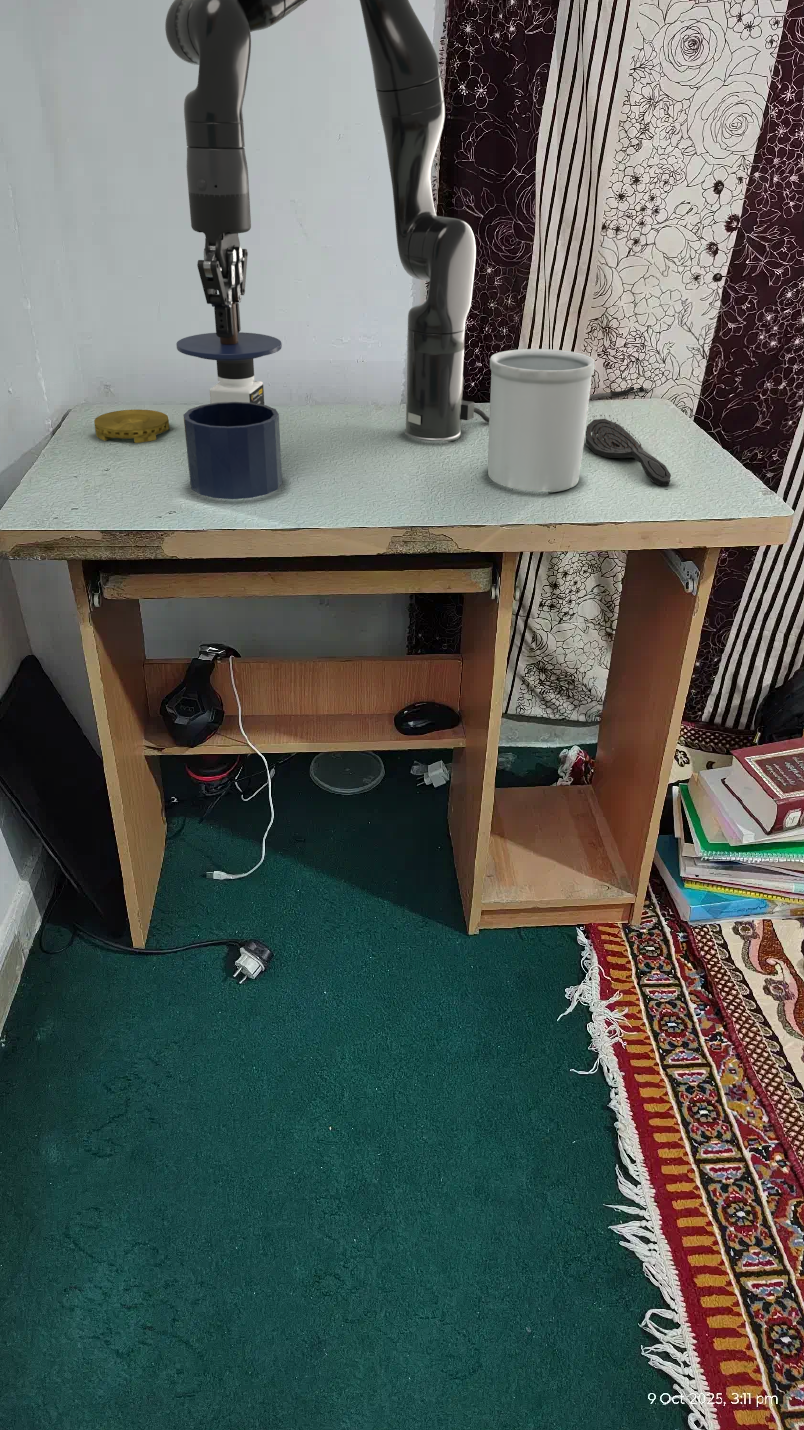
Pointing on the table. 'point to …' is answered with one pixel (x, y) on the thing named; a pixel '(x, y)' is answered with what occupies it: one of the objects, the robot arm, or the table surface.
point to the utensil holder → (538, 418)
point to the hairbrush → (623, 448)
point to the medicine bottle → (237, 383)
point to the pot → (233, 449)
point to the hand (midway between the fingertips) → (228, 334)
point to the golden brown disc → (131, 425)
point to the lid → (229, 345)
